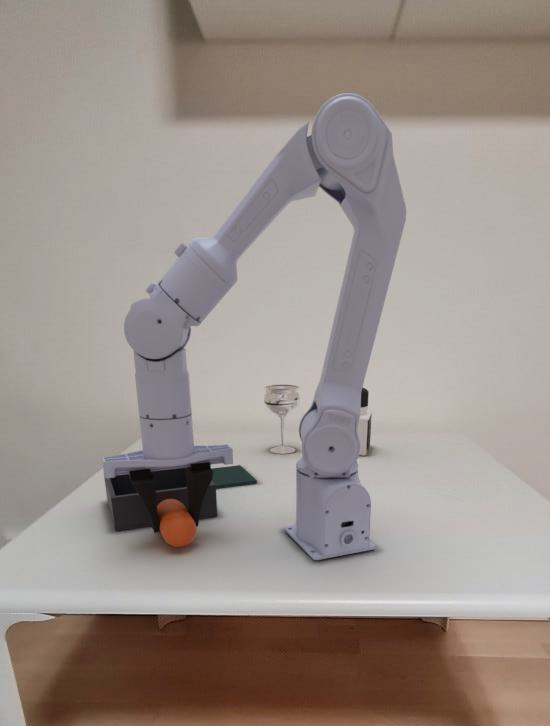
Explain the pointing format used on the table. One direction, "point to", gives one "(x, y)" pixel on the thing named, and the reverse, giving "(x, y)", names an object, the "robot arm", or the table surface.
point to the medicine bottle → (364, 424)
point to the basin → (169, 485)
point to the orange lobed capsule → (176, 523)
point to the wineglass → (282, 407)
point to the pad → (231, 476)
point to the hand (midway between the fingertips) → (175, 526)
